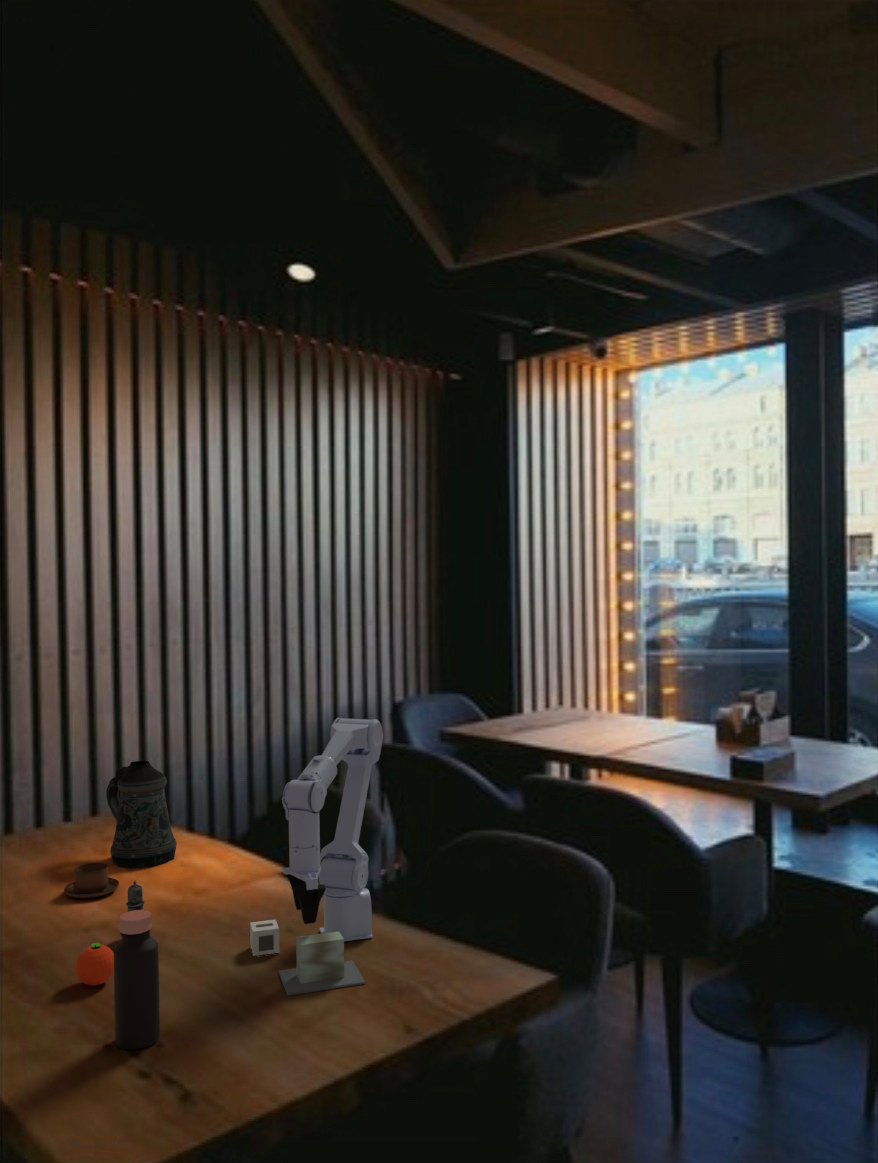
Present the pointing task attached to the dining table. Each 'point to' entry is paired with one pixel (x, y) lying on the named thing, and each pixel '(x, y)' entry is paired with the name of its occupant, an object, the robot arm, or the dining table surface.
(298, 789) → the robot arm
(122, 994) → the bottle
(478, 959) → the dining table surface
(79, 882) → the cup and saucer
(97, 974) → the clementine
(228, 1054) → the dining table surface
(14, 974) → the dining table surface
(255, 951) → the marked cube
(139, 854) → the beer stein
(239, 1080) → the dining table surface
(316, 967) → the pale green block
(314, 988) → the slate mat
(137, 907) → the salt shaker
